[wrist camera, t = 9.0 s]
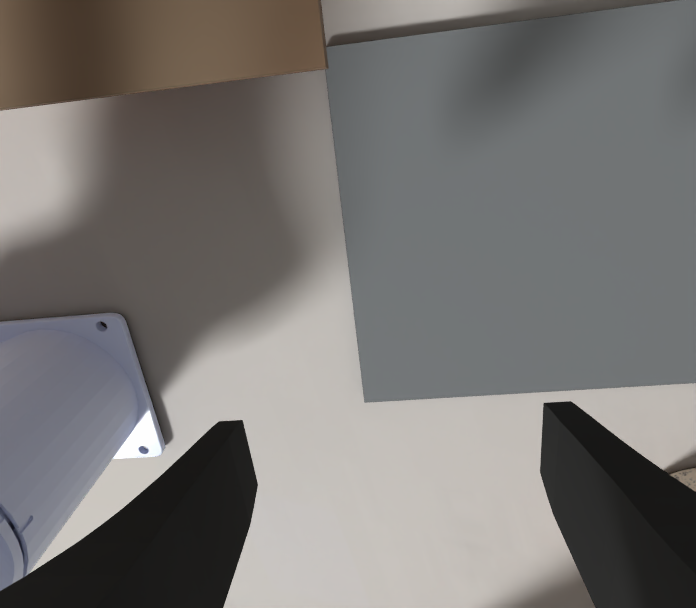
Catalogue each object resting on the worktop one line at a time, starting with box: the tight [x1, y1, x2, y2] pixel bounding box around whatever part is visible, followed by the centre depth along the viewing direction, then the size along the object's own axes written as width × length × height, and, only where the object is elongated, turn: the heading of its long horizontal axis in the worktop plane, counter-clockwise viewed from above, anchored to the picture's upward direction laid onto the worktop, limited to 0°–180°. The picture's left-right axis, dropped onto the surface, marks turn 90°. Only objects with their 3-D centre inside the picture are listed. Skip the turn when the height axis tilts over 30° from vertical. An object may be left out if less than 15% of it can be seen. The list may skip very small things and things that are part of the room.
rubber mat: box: [325, 0, 696, 403], centre depth 20 cm, size 15×15×1 cm
